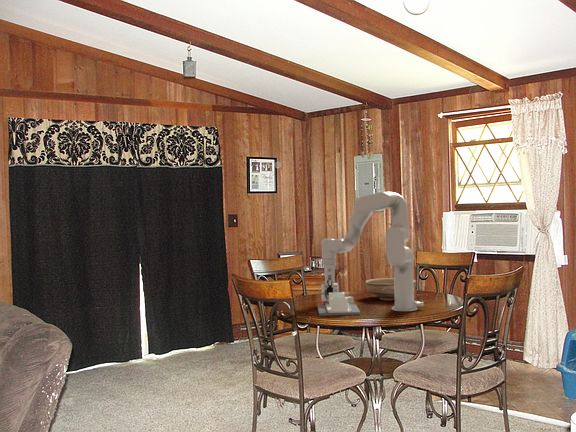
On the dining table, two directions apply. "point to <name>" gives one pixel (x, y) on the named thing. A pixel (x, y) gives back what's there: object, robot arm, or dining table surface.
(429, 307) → the dining table surface
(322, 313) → the rail panel
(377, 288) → the ceramic bowl
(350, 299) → the block
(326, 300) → the ink box
